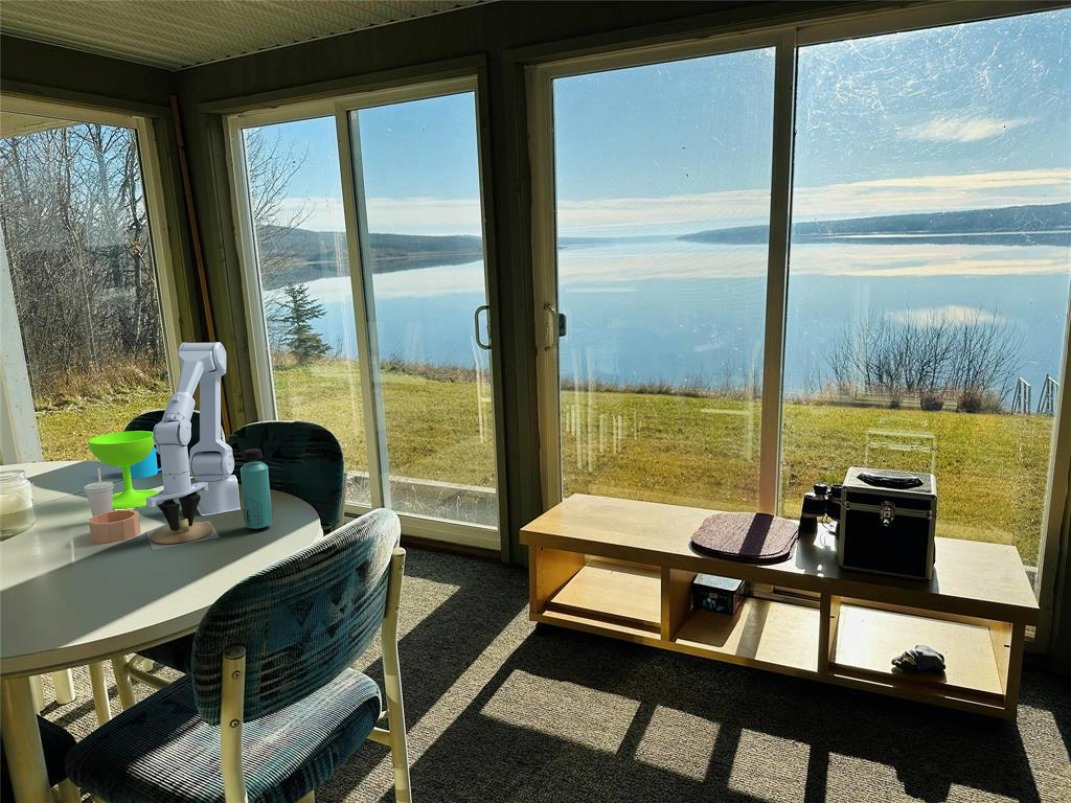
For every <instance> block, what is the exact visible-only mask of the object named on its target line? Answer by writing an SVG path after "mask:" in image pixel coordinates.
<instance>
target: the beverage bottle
mask: <svg viewBox="0 0 1071 803" xmlns="http://www.w3.org/2000/svg"><path fill="white" fill-rule="evenodd" d="M262 458H263V452H262V450H261V448H248V449H245V450H243V460H244V461H249V462H247V463H244V464H243V465H242V466H241V467H240V469H239V471H240V480H241V481H240V482H241V493H242V506H243V508H242V510H243V520H244V524H245V527H246V528H248V529H262V528H266V527H267V528H268V526H271V525H272V524H273V521H274V518H273V517H274V516H273V515H274V514H273V512H274V511H273V503H272V495H271V489H270V488H271V487H270V479H269V478H270V477H269V475H270V474H269V466H268V465H267V464H266V463H265V462H262V461H258V460H261V459H262ZM256 460H257V461H256Z"/></svg>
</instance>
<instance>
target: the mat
mask: <svg viewBox="0 0 1071 803" xmlns="http://www.w3.org/2000/svg"><path fill="white" fill-rule="evenodd" d="M202 522H203V523H208V524H210V525H212V529H213V531H212V533H211V534H210V535H208V536H207V537H205V538H202V539H200V540H196V541H193V542H189V543H183V544H176V545H161V544H156V543H153V542H152V541H151V535H152V533H154V532H155V531H157V530H158V529H156V530H151V531H145V534H146V537H147V540H148V543H149V545H150V548H151V551H158V550H159V551H160V550H163V549H169V548H172V547H173V548H174V547H178V546H179V547H180V546H183V545H188V544H195V543H199V542H203V541H210V540H214V539H220V538H221V537H220V535H219V533H218V532H217V530H216V528H215V527H214V526H213V524H212V523H211V521H210V520H206V521H205V520H204V521H202Z"/></svg>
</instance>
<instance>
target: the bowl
mask: <svg viewBox="0 0 1071 803" xmlns="http://www.w3.org/2000/svg"><path fill="white" fill-rule="evenodd" d="M88 523H89V532H90V540H91V542H93V543H96V544H113V543H117V542H123V541H127V540H129V539H133V538H135V537H137V536H138V535H139V534H141V532H142V530H141V525H140V524H141V523H140V514H139V511H138V510H134V509H127V510H117V511H110V512H105V513H102V514H99V515H95V516H94V517H93V516H92V517H90V518H88Z"/></svg>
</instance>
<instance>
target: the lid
mask: <svg viewBox="0 0 1071 803" xmlns="http://www.w3.org/2000/svg"><path fill="white" fill-rule="evenodd" d="M178 520H179V530H178V531H173V530H171V529H170V526H169V525H166V526H164V527H160V528H159V529H156V530H157V531H155V530H154V531H155V532H154V533H152V535H151V541H152V542H153V543H156V544H161V545H176V544H183V543H189V542H193V541H196V540H200V539H202V538H205V537H207V536H208V535H210V534H211V533H212V531H213V529H212V526H213V524H212V525H210V524H208V523H203V522H204V521H193V525H192V526H189V524H188V518H187V517H183V516H181V517H178ZM189 544H190V543H189Z"/></svg>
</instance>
